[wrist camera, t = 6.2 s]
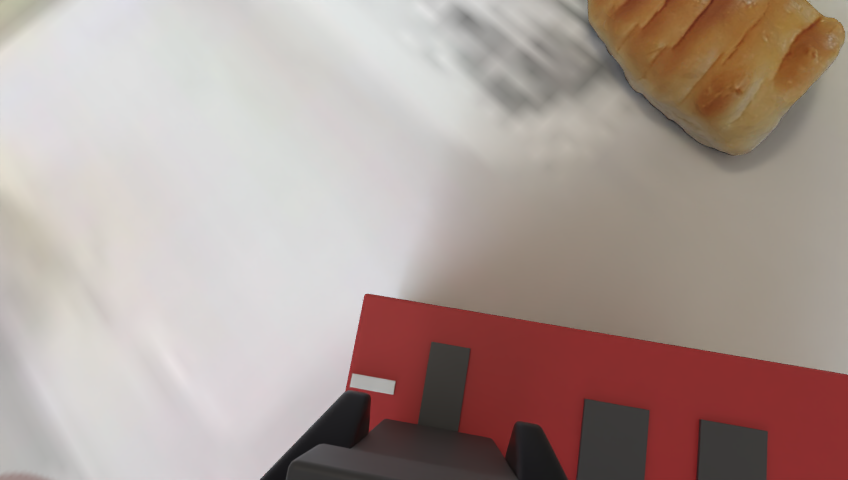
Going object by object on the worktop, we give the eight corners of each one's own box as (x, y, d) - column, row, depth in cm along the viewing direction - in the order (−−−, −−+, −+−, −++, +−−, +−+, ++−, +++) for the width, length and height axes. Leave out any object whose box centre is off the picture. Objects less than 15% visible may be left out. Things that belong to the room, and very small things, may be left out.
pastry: (543, 47, 23) (563, -16, 19) (633, -58, 24) (668, -136, 20) (735, 177, 21) (798, 136, 17) (822, 58, 22) (898, -4, 19)
